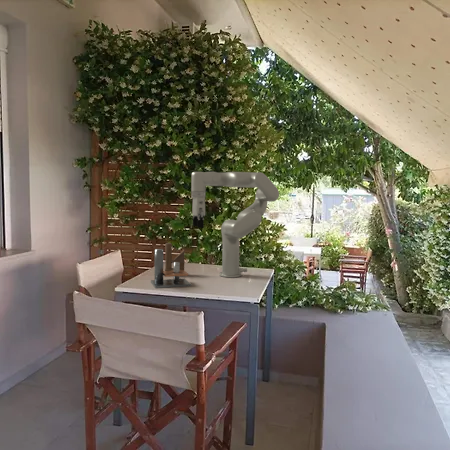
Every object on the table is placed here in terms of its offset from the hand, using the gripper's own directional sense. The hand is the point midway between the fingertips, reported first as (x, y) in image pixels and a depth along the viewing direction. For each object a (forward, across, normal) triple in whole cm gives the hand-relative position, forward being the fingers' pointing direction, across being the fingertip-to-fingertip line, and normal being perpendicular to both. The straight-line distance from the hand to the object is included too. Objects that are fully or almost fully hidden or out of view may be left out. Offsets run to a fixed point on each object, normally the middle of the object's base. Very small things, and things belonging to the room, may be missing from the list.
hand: (198, 226), depth 238 cm
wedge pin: (+27, -10, +14) cm, 32 cm away
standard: (+28, -10, +17) cm, 34 cm away
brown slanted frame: (+28, +13, +10) cm, 33 cm away
